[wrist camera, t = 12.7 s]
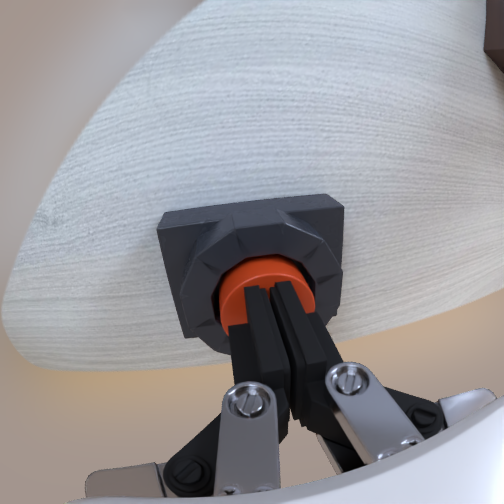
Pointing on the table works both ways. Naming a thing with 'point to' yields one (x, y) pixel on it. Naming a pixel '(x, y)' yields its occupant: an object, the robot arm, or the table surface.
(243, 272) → the orange button
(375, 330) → the table surface
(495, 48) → the dial panel
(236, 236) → the button block
